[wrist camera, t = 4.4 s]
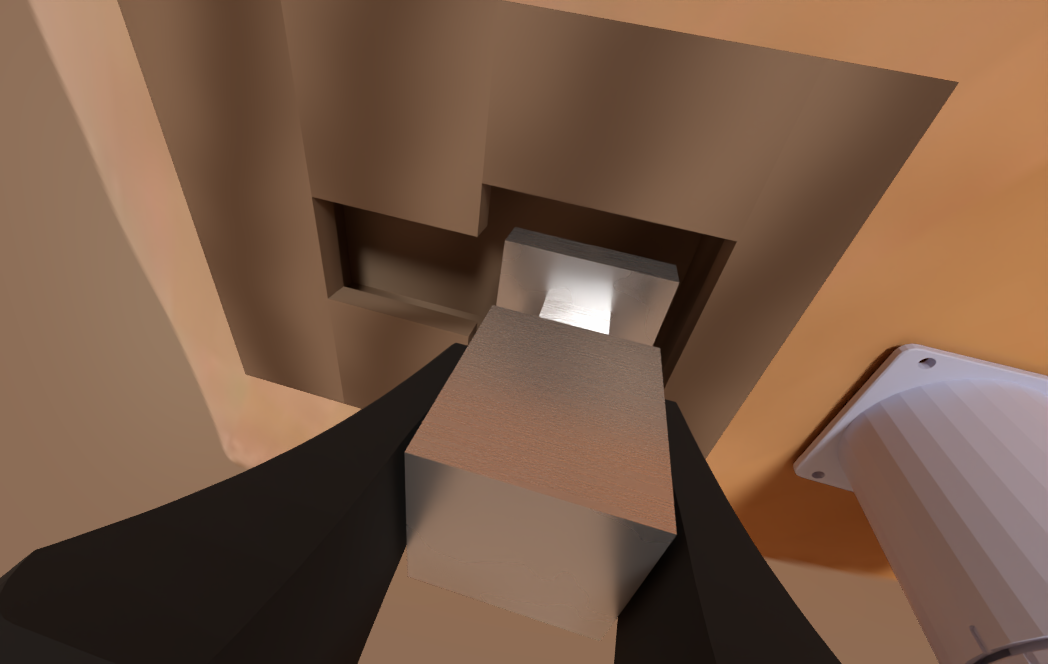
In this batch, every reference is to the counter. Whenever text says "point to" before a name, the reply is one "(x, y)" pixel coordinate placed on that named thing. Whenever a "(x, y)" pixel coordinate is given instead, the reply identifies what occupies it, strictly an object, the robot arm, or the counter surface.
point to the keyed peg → (550, 441)
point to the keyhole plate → (508, 175)
